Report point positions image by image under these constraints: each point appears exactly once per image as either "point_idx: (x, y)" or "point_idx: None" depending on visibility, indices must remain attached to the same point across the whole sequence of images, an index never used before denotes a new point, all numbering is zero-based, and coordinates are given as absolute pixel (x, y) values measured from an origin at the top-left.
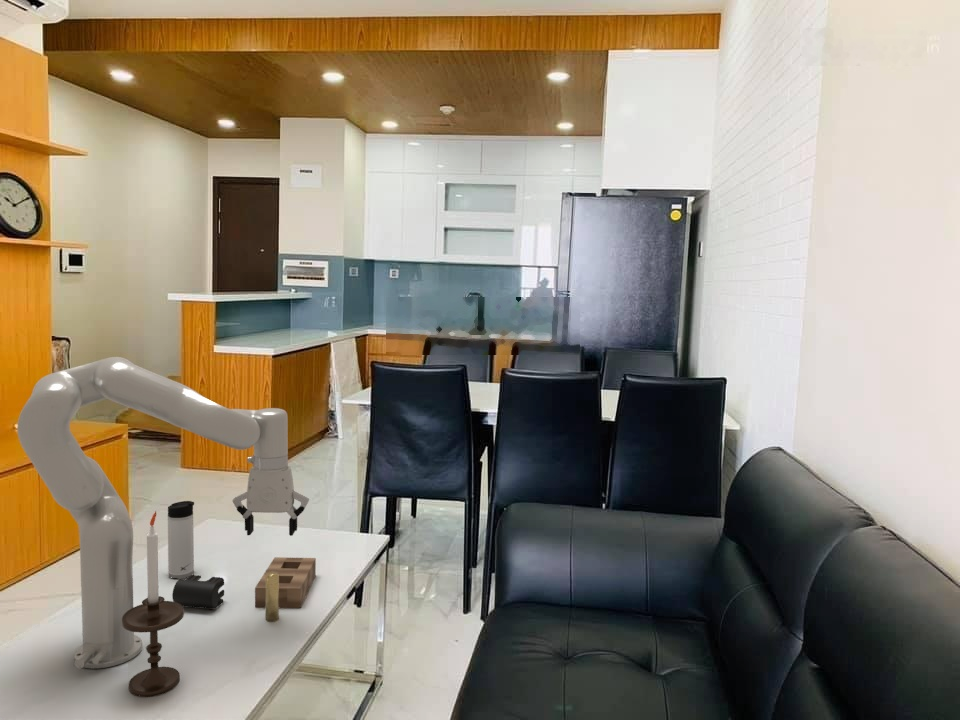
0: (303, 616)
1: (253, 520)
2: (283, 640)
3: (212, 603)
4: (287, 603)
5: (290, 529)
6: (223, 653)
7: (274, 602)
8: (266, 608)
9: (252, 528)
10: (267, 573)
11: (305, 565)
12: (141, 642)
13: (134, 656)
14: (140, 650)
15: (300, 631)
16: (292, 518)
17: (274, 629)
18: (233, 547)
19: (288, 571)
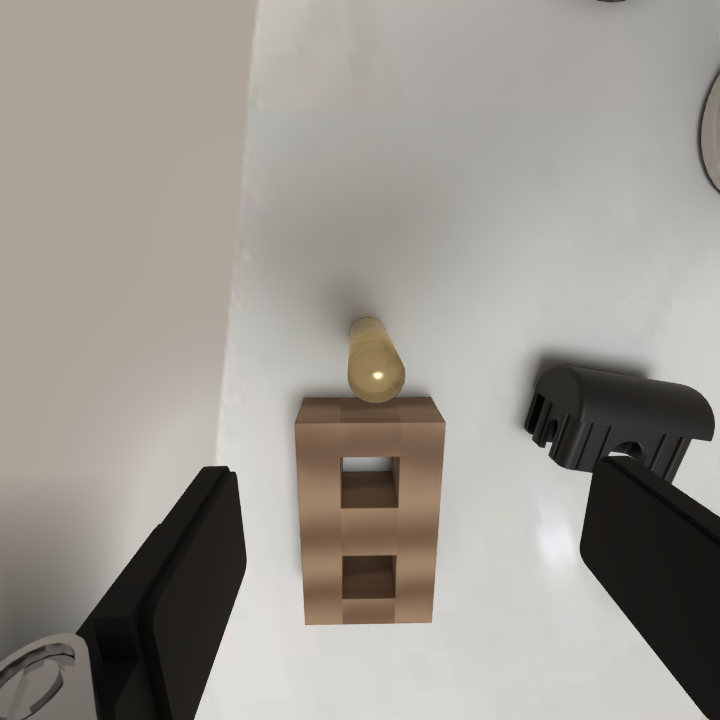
0: (283, 351)
1: (656, 651)
2: (302, 204)
3: (556, 368)
4: (340, 403)
5: (195, 502)
6: (458, 119)
7: (358, 330)
8: (383, 328)
9: (607, 551)
10: (398, 380)
11: (322, 576)
12: (715, 146)
13: (714, 83)
14: (703, 120)
15: (267, 261)
16: (84, 645)
17: (345, 272)
18: (557, 704)
19: (365, 536)
